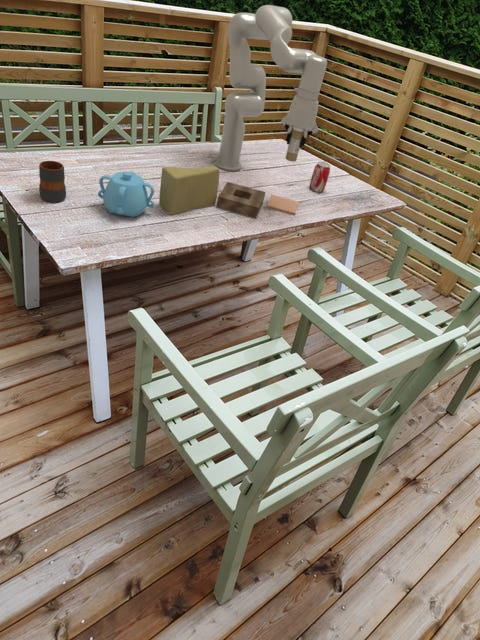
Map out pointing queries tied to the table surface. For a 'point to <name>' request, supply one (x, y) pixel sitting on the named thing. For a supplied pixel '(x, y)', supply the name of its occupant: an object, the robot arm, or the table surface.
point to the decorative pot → (126, 194)
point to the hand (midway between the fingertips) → (294, 144)
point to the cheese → (188, 188)
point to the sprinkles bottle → (294, 144)
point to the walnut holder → (240, 199)
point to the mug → (52, 181)
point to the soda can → (320, 177)
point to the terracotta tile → (282, 204)
